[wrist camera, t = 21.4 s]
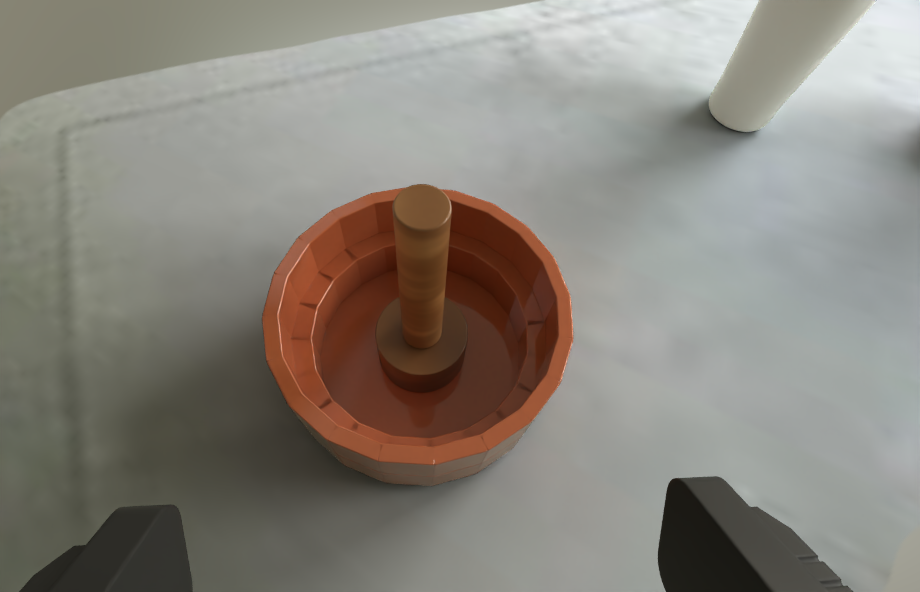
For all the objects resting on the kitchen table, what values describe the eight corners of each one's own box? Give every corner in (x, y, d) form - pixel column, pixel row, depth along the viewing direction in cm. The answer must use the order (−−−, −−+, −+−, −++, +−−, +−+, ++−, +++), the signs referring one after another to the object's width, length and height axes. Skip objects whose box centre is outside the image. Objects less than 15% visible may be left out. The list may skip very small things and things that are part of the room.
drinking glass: (780, 103, 45) (926, -88, 32) (768, 152, 42) (924, -38, 29) (706, 77, 46) (818, -118, 33) (689, 123, 43) (806, -73, 30)
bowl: (370, 547, 26) (355, 539, 21) (251, 316, 32) (214, 260, 26) (596, 393, 31) (635, 352, 25) (458, 216, 37) (464, 151, 31)
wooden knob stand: (406, 409, 29) (395, 289, 17) (363, 338, 31) (326, 185, 19) (480, 364, 31) (519, 226, 19) (435, 300, 33) (444, 136, 21)
